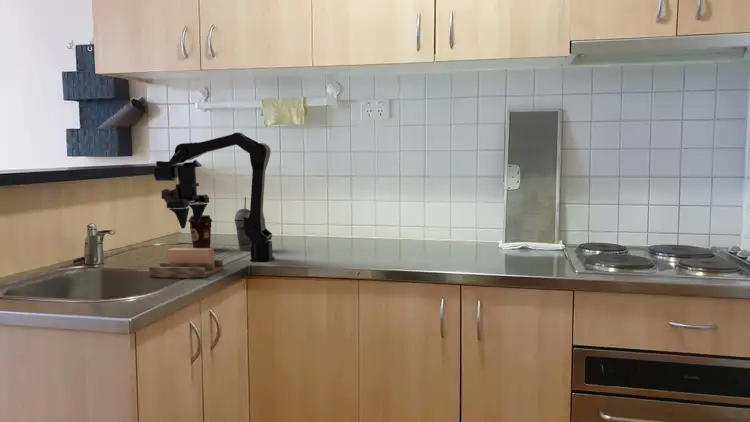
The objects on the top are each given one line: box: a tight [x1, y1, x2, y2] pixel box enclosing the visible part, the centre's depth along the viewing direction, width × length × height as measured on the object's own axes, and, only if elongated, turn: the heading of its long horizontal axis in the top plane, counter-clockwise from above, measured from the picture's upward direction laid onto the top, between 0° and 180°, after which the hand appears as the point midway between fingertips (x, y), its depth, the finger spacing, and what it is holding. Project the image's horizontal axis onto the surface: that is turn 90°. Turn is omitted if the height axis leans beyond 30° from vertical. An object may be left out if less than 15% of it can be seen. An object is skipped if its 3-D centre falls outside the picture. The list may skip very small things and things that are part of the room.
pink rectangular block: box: [166, 247, 215, 267], centre depth 190 cm, size 14×4×6 cm, turn 78°
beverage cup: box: [234, 196, 252, 252], centre depth 225 cm, size 7×7×20 cm
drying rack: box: [148, 259, 224, 279], centre depth 188 cm, size 18×13×3 cm
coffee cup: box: [187, 214, 213, 248], centre depth 229 cm, size 9×8×13 cm
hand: (190, 226), depth 206 cm, fingers open, 9 cm apart
